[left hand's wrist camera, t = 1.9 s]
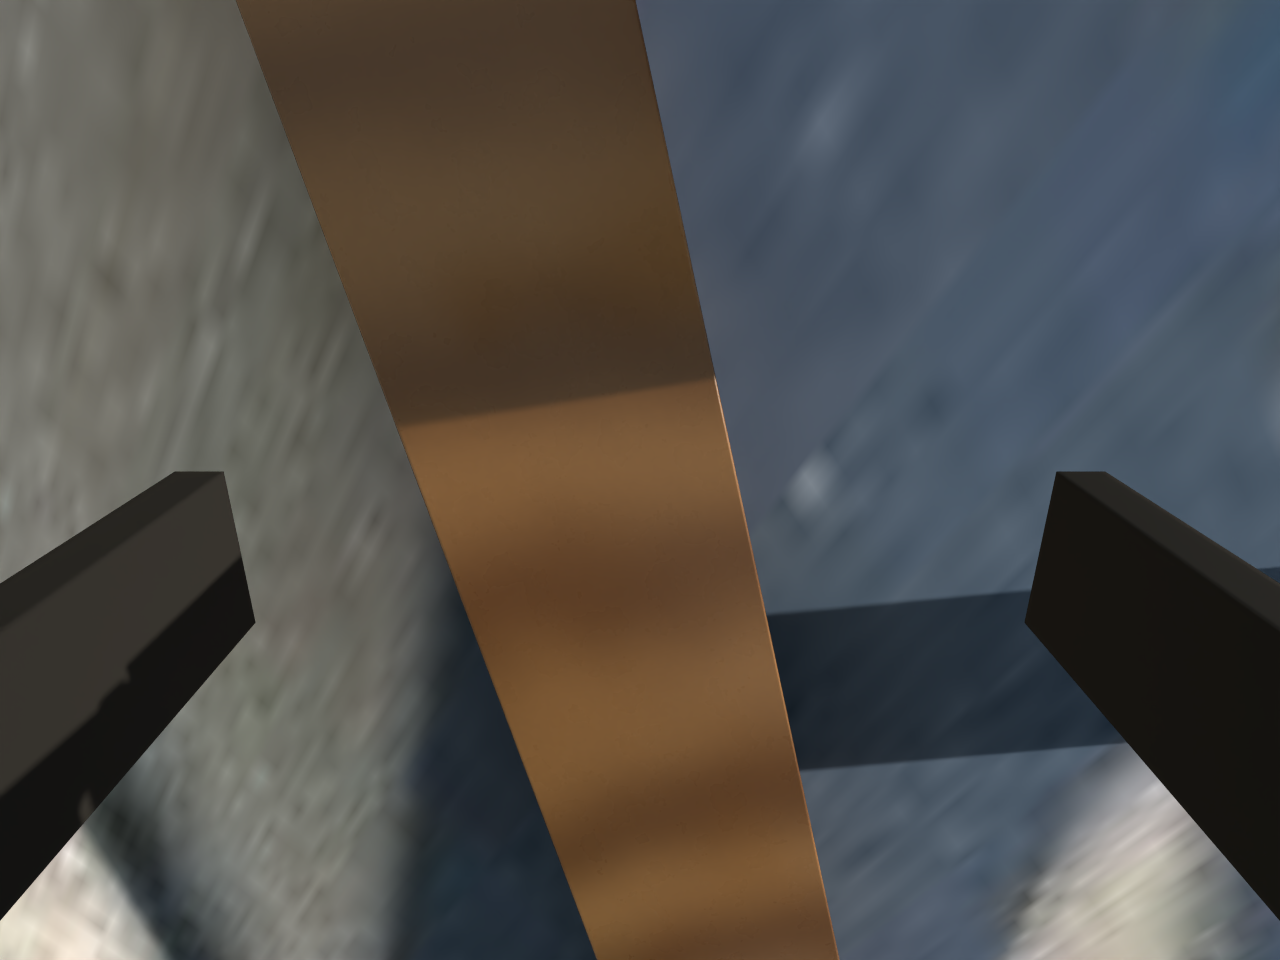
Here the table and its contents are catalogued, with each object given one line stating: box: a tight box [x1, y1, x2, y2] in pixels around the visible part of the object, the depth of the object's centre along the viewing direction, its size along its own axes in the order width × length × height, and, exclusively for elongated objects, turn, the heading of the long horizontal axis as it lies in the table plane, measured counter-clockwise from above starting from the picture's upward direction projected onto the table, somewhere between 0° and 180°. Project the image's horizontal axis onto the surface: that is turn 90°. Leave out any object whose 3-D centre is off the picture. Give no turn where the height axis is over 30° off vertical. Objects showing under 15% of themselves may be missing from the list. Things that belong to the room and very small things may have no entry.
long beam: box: [236, 0, 839, 960], centre depth 31 cm, size 73×10×7 cm, turn 14°
